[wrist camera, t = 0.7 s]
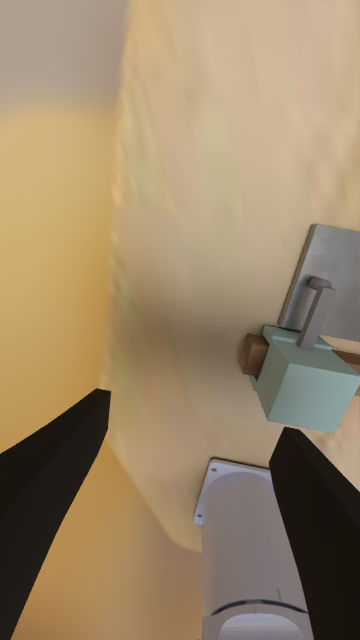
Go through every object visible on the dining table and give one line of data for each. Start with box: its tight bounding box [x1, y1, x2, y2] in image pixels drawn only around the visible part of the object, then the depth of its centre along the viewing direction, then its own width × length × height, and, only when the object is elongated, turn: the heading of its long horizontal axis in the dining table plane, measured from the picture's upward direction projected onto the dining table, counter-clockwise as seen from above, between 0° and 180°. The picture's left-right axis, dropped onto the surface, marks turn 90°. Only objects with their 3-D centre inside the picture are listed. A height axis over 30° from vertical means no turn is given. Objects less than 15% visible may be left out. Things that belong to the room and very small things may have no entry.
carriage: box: [249, 277, 360, 434], centre depth 15 cm, size 9×4×5 cm, turn 170°
